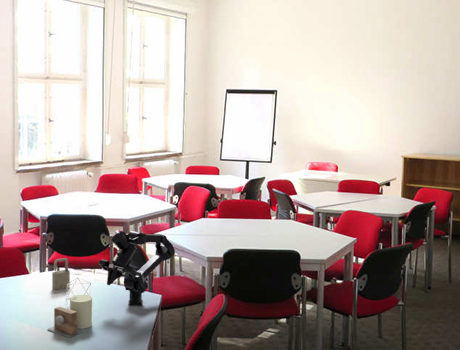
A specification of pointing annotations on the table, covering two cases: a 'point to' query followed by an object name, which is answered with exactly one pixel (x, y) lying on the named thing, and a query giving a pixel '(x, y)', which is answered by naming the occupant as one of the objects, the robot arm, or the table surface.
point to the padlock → (60, 276)
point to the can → (82, 310)
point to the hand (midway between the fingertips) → (108, 284)
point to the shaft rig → (65, 322)
